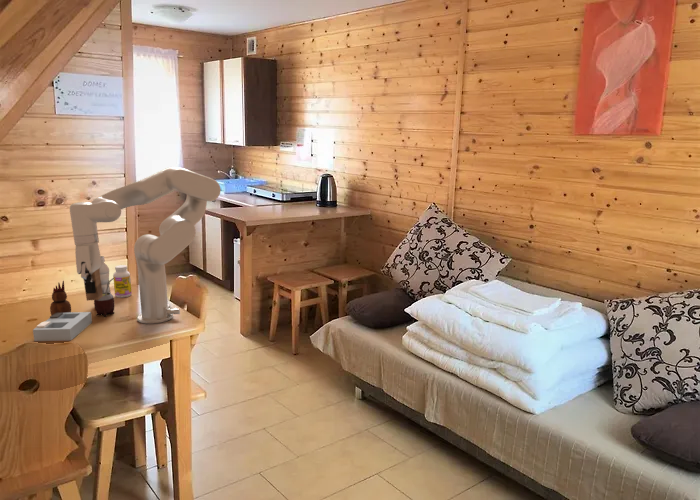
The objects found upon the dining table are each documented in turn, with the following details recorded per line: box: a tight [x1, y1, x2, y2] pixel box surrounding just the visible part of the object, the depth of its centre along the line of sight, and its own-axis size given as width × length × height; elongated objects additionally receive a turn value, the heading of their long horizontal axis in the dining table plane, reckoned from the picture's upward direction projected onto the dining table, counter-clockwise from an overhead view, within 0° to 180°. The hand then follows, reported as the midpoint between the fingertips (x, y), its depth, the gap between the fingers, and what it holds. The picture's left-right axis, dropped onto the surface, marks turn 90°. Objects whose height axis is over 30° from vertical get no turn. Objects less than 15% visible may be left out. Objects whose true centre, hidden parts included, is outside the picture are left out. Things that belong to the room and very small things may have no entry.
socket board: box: [32, 311, 93, 342], centre depth 199 cm, size 12×18×5 cm, turn 3°
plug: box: [83, 269, 103, 301], centre depth 195 cm, size 4×4×10 cm
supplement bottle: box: [112, 264, 133, 299], centre depth 240 cm, size 7×7×13 cm
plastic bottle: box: [99, 255, 112, 294], centre depth 225 cm, size 6×7×20 cm
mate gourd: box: [93, 277, 115, 318], centre depth 215 cm, size 8×8×15 cm
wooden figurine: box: [49, 280, 72, 316], centre depth 209 cm, size 7×6×15 cm
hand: (93, 290), depth 196 cm, fingers closed on plug, 4 cm apart
